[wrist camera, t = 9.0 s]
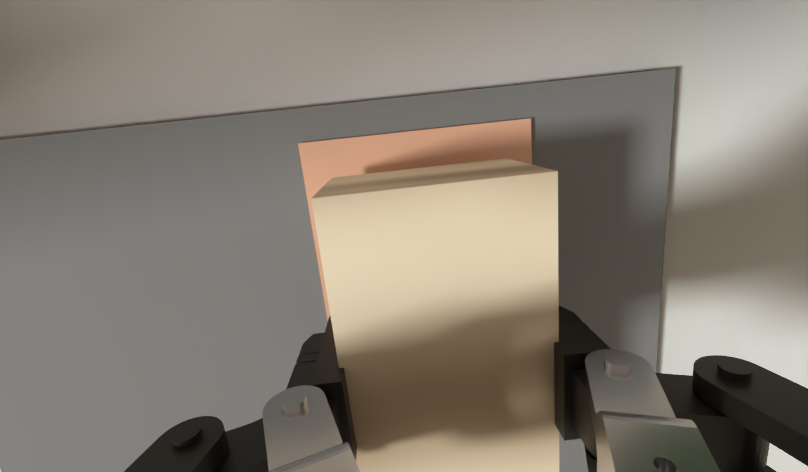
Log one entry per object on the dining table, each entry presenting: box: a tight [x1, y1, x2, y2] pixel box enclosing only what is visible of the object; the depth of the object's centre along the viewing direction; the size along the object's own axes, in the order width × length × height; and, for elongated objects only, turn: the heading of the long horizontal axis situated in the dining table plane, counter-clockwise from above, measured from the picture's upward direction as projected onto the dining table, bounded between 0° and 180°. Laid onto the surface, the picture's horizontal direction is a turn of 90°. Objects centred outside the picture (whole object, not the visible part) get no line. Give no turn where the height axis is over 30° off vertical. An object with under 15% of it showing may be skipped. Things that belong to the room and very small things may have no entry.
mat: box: [0, 68, 676, 472], centre depth 15 cm, size 24×18×1 cm
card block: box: [311, 158, 559, 472], centre depth 11 cm, size 10×5×4 cm, turn 6°
